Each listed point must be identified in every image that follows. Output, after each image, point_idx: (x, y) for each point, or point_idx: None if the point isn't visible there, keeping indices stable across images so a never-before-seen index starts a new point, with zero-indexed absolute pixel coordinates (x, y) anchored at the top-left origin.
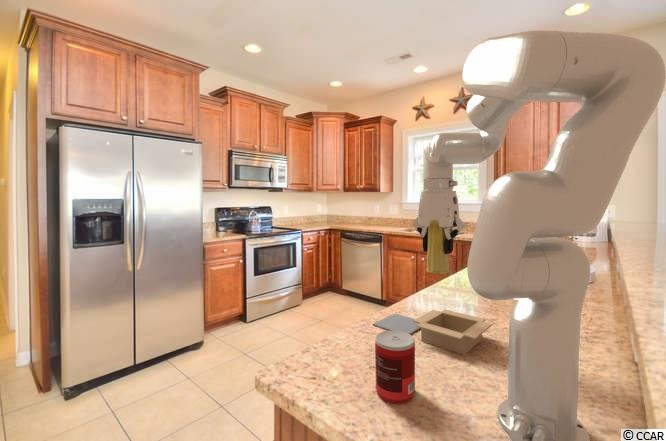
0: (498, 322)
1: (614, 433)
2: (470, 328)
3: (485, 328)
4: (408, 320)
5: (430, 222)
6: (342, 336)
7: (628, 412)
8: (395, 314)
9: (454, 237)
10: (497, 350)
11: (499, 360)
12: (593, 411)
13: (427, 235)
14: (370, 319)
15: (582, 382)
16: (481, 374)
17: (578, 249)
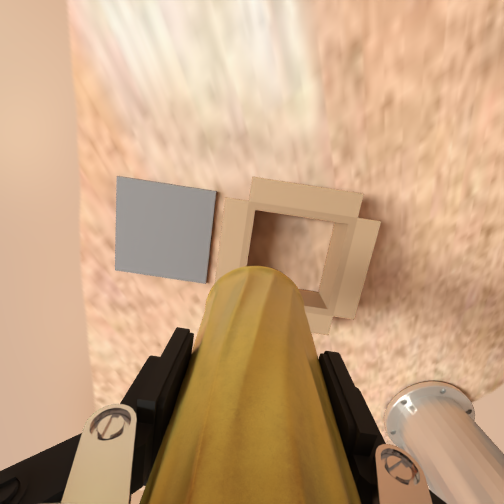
0: (370, 65)
1: (499, 386)
2: (338, 276)
3: (369, 259)
4: (169, 205)
5: None
6: (105, 345)
7: None
8: (121, 183)
9: (411, 478)
10: (375, 247)
11: (380, 285)
12: (490, 357)
13: (144, 471)
14: (89, 239)
15: (498, 290)
16: (357, 344)
17: None
